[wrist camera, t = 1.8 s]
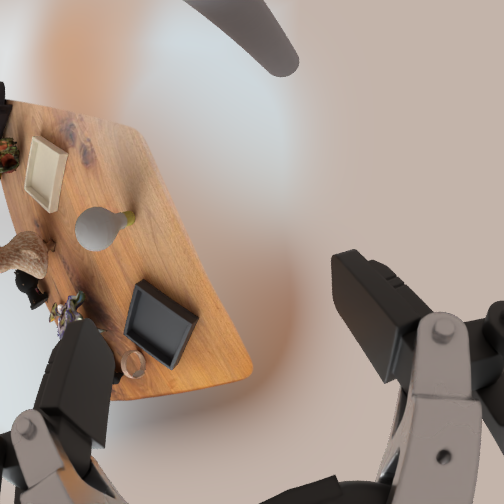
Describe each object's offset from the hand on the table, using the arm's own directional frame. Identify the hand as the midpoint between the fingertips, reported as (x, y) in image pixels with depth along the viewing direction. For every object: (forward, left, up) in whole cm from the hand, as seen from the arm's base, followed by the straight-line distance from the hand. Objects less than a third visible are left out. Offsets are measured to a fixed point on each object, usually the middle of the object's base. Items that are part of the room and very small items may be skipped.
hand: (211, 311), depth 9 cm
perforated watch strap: (+37, -13, -25) cm, 46 cm away
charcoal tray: (+27, -11, -25) cm, 38 cm away
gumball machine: (+45, -39, -22) cm, 64 cm away
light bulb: (+13, -21, -25) cm, 35 cm away
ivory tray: (+16, -45, -25) cm, 53 cm away
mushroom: (+19, -57, -26) cm, 65 cm away
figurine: (+30, -40, -25) cm, 56 cm away
